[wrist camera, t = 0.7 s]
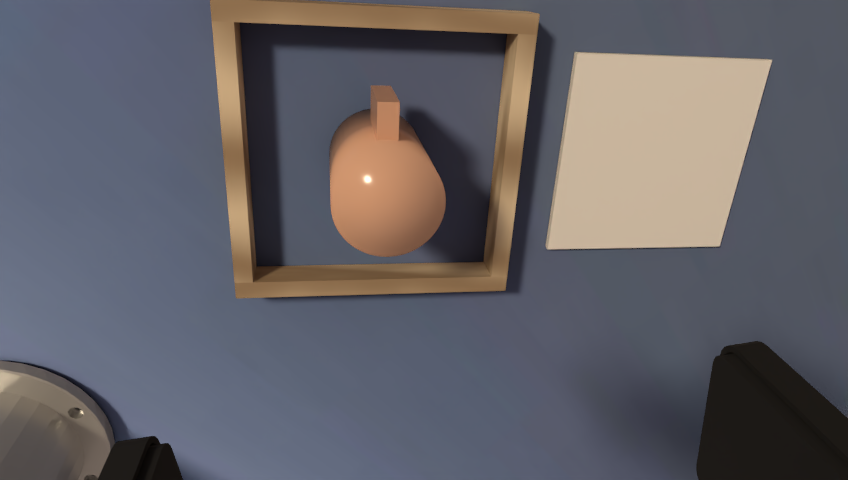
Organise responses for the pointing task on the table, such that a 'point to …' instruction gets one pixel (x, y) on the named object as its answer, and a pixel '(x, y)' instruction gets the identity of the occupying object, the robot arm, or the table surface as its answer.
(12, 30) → the table surface
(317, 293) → the oak frame
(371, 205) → the terracotta jug
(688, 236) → the off-white pad
